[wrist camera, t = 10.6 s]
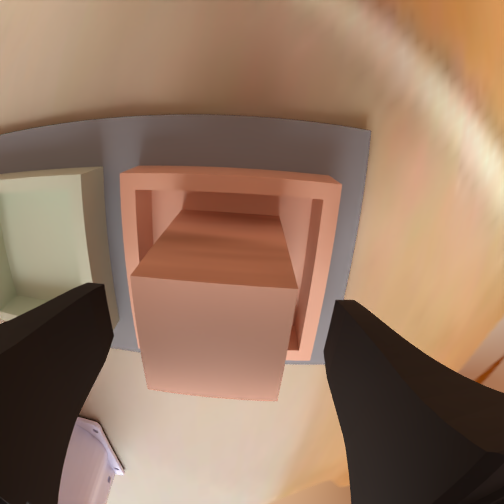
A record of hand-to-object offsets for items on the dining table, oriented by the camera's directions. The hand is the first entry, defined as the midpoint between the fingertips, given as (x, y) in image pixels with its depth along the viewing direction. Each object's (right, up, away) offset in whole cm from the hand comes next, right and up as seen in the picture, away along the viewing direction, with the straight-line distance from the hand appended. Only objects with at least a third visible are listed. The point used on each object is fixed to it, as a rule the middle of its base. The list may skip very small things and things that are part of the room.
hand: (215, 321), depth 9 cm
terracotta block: (0, +2, +4) cm, 5 cm away
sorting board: (-4, +2, +5) cm, 7 cm away
